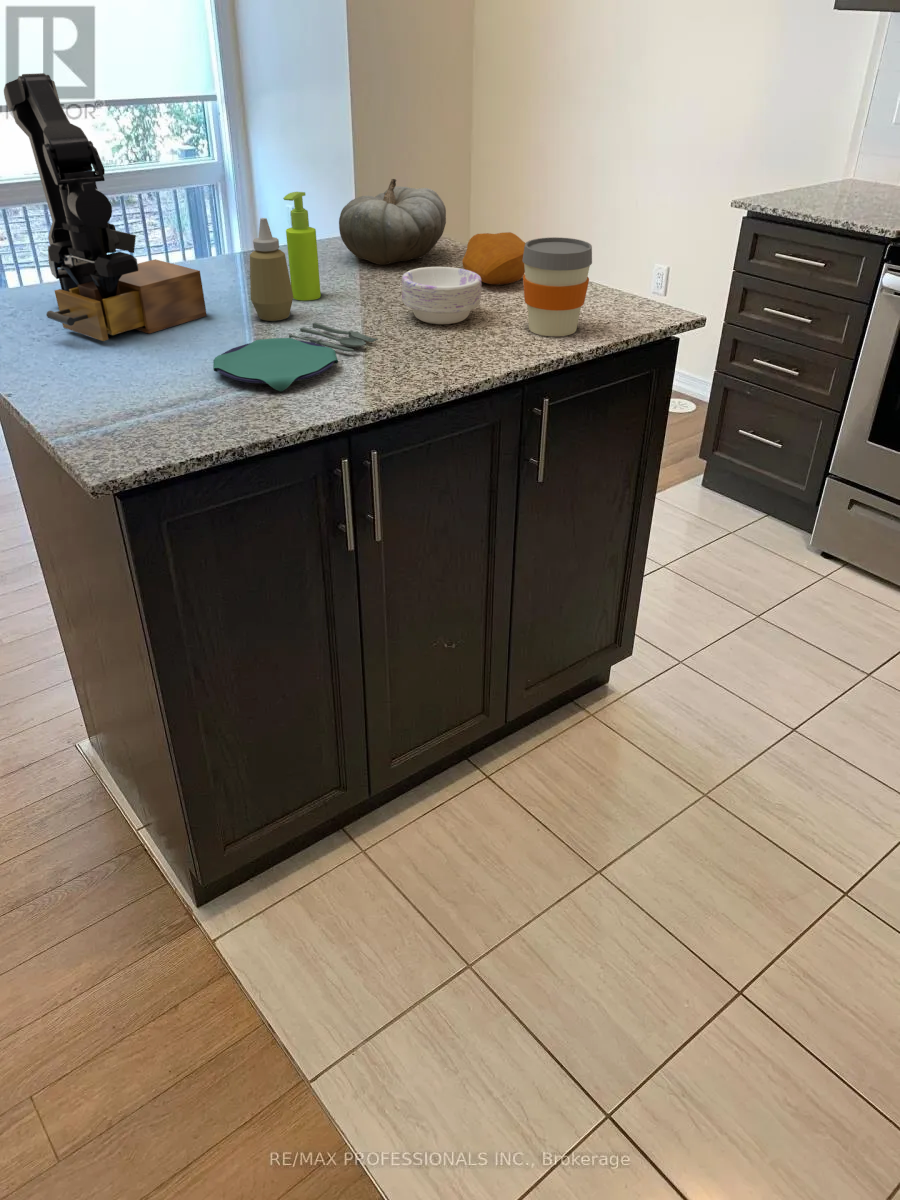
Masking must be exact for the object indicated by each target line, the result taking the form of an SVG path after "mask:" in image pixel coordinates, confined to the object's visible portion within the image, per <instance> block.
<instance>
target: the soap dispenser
mask: <svg viewBox="0 0 900 1200" xmlns="http://www.w3.org/2000/svg"><path fill="white" fill-rule="evenodd" d="M305 196H306V192H305V191H292V192H289V193H287V194H286V195H285V196H284V197H283V198H282V199H283V200H284V201H289V202H293V206H294V208H292V209H291V210H290V222H291V227H288V228H286V230H285V235H286V246H287V256H288V257H287V258H288V267H289V268H288V269H289V277H290V282H291V287H292V293H293V300H295V301H296V300H297V301H302V302H303V301H304V302H305V301H307V302H309V301H314V300H318V299H320V298H321V296H322V293H321V281H320V279H321V278H320V268H319V256H318V255H319V254H318V242H317V241H318V239H317V230H316V227H312V226H310V221H309V220H310V219H309V211H308V209H306V208H304V202H303V201H304V200H303V197H305Z"/></svg>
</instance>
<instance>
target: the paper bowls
mask: <svg viewBox="0 0 900 1200" xmlns="http://www.w3.org/2000/svg"><path fill="white" fill-rule="evenodd" d="M481 299H482V282H481V277H480V276H479V275H478V274H476V273H475V272H472V271H469V270H465V269H464V268H459V267H452V266H424V267H419V268H413V269H410V270H408V271H406V272H404V273H402V276H401V301H402V303H403V304H404V305H405V306H406V307H407V308H409V309H411V310H412V312H413V315H414V316H415V318H416V319H417V320H419V321H421V322H423V323H424V322H425V323H427V324H433V325H451V324H457V323H460V322H462V321H464V320H466V319H467V318H468V316H469V315H470V313H471V311H473V310H475V309H477V308H478V307H479V306H480V305H481Z"/></svg>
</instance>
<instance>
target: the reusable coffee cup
mask: <svg viewBox="0 0 900 1200" xmlns="http://www.w3.org/2000/svg"><path fill="white" fill-rule="evenodd" d="M522 261H523V263H524V267H525V273H524V275H523V277H522V284H523V297H524V303H525V304H526V308H527V322H528V323H527V324H528V330H529V332H531V333H533V334H535V335H538V336H544V337H564V336H565V337H566V336H570V335H572V334H575V333H576V331H577V328H578V324H579V319H580V315H581V314H580V313H581V309H582V306H584V304H585V302H586V297H587V293H588V292H587V291H588V287H589V284H590V283H589V282H590V278H589V271H590V266H592V264H593V245H592V244H591V243H590V242H587V241H585V240H582V239H577V238H571V237H558V236H556V237H554V236H553V237H540V238H534V239H531V240H528V241H525V247H524V254H523V260H522Z"/></svg>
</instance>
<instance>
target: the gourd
mask: <svg viewBox="0 0 900 1200" xmlns="http://www.w3.org/2000/svg"><path fill="white" fill-rule="evenodd" d="M446 223H447V209H446V205H445V203H444V201H443V199H442V198H441V197H440V196H439V194H438V193H437V191H435V190H434V189H431V188H428V187H421V188H415V187H408V186H397V179H396V178H391V179H390V182H389V185H388V188H387V189H386V190H385V191H384V192H381V193H378V194H377V195H376V196H373V195H362V196H358V197H356V198H353V199H351V200H350V201H349V202H347V203H346V204H345V205H344V207H343V208H342V209H341V211H340V214H339V218H338V229H339V236H340V238H341V240H342V242H343V244H344V246H345V247H346V248H347V249H348V251H349V252H350V253H351V254H352V255H353V256H355V257H356V258H358V259H361V260H365V261H368V262H370V263H373V264H377V265H380V266H381V265H382V266H386V265H388V264H389V265H390V264H392V263H398V262H407V261H411V260H418V259H421V258H423V257H425V256H427V255H428V254H429V253H430V252H431V251H432V250H433V248H434V247H435V246H436V244H437V243H438V241H439V240H440V239H441V238H442V236H443V234H444V232H445V227H446Z"/></svg>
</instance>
